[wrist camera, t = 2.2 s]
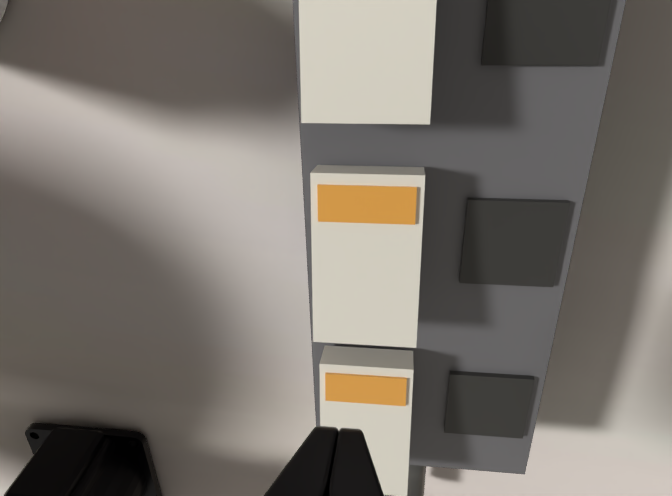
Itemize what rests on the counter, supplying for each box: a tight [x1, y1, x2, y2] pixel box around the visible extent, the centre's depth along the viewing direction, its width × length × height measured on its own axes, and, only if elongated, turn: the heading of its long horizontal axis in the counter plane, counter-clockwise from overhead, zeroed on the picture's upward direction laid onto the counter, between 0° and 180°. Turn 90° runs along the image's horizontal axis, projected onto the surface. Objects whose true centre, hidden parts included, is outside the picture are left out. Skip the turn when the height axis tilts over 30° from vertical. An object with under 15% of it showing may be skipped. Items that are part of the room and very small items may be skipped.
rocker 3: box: [319, 346, 414, 496], centre depth 19 cm, size 5×3×1 cm, turn 2°
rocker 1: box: [299, 0, 437, 124], centre depth 12 cm, size 5×3×1 cm, turn 1°
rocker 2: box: [310, 165, 425, 348], centre depth 15 cm, size 5×3×1 cm, turn 1°
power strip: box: [293, 0, 626, 496], centre depth 19 cm, size 25×8×4 cm, turn 1°
